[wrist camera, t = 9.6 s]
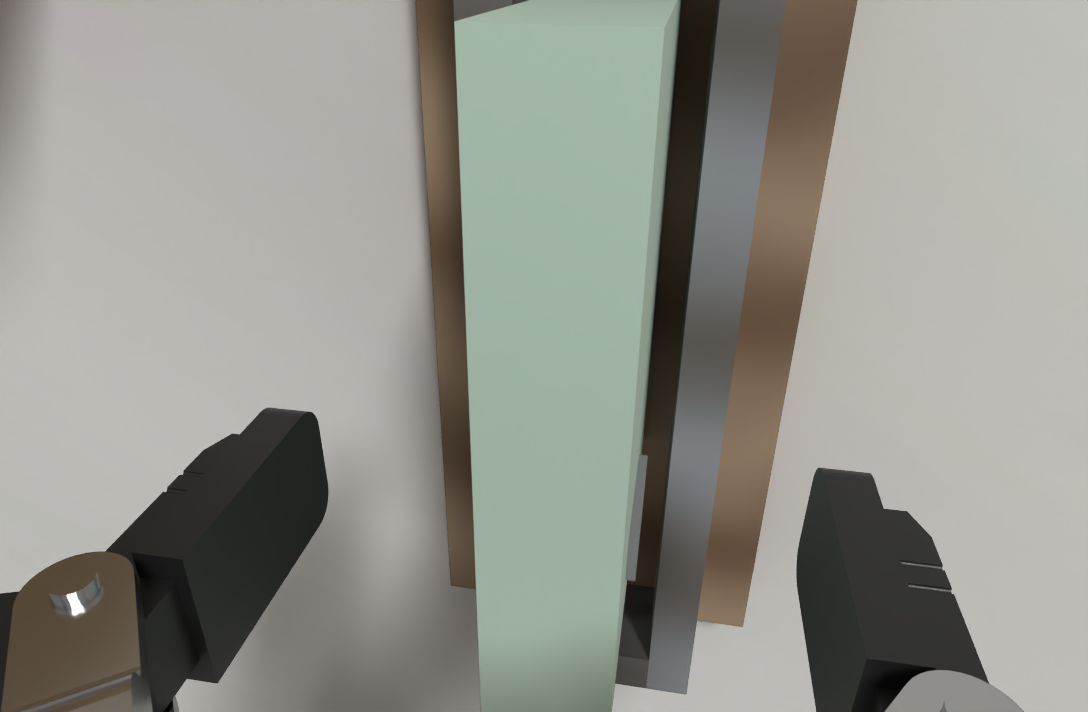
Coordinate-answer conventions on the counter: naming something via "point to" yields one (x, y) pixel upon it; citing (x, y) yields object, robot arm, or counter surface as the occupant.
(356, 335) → the counter surface
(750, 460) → the door track
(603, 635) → the door panel
